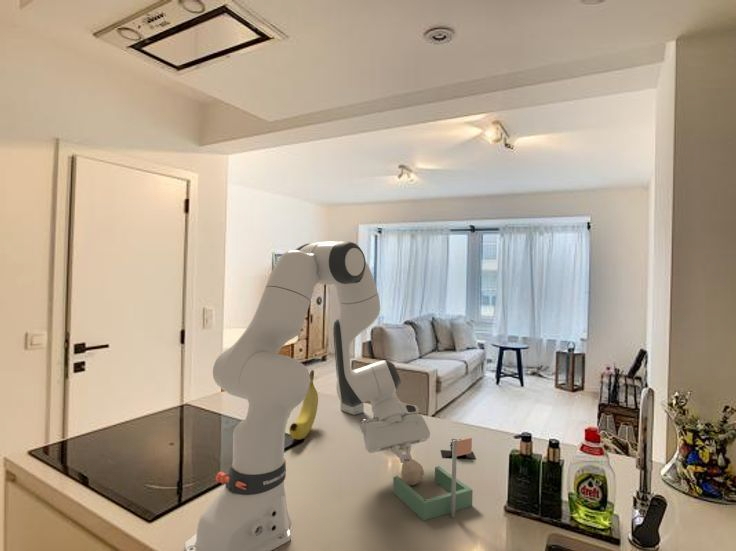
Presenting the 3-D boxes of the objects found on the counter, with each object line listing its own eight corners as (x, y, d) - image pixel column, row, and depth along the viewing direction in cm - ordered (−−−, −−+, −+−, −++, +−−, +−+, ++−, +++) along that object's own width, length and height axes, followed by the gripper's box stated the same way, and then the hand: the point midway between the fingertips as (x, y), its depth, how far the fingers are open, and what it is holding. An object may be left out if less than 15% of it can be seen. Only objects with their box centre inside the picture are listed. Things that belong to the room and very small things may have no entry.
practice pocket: (393, 492, 111) (394, 423, 111) (438, 480, 118) (439, 415, 117) (428, 525, 97) (430, 446, 97) (478, 510, 103) (479, 436, 103)
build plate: (477, 452, 138) (477, 437, 138) (481, 463, 130) (482, 447, 130) (435, 450, 139) (436, 435, 139) (438, 461, 131) (438, 445, 131)
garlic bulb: (395, 480, 117) (396, 451, 117) (414, 474, 120) (415, 446, 120) (409, 491, 111) (409, 461, 111) (429, 485, 115) (429, 456, 114)
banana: (301, 448, 137) (302, 385, 137) (284, 446, 138) (285, 384, 138) (320, 423, 159) (321, 369, 159) (305, 421, 160) (306, 368, 160)
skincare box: (363, 412, 172) (364, 375, 172) (352, 415, 168) (353, 377, 168) (350, 407, 178) (350, 371, 178) (338, 410, 174) (339, 373, 174)
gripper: (361, 415, 121) (378, 464, 112) (421, 405, 130) (440, 449, 122) (354, 425, 125) (369, 473, 116) (413, 415, 134) (431, 458, 126)
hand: (406, 461), depth 119 cm, fingers closed, pressing on garlic bulb
